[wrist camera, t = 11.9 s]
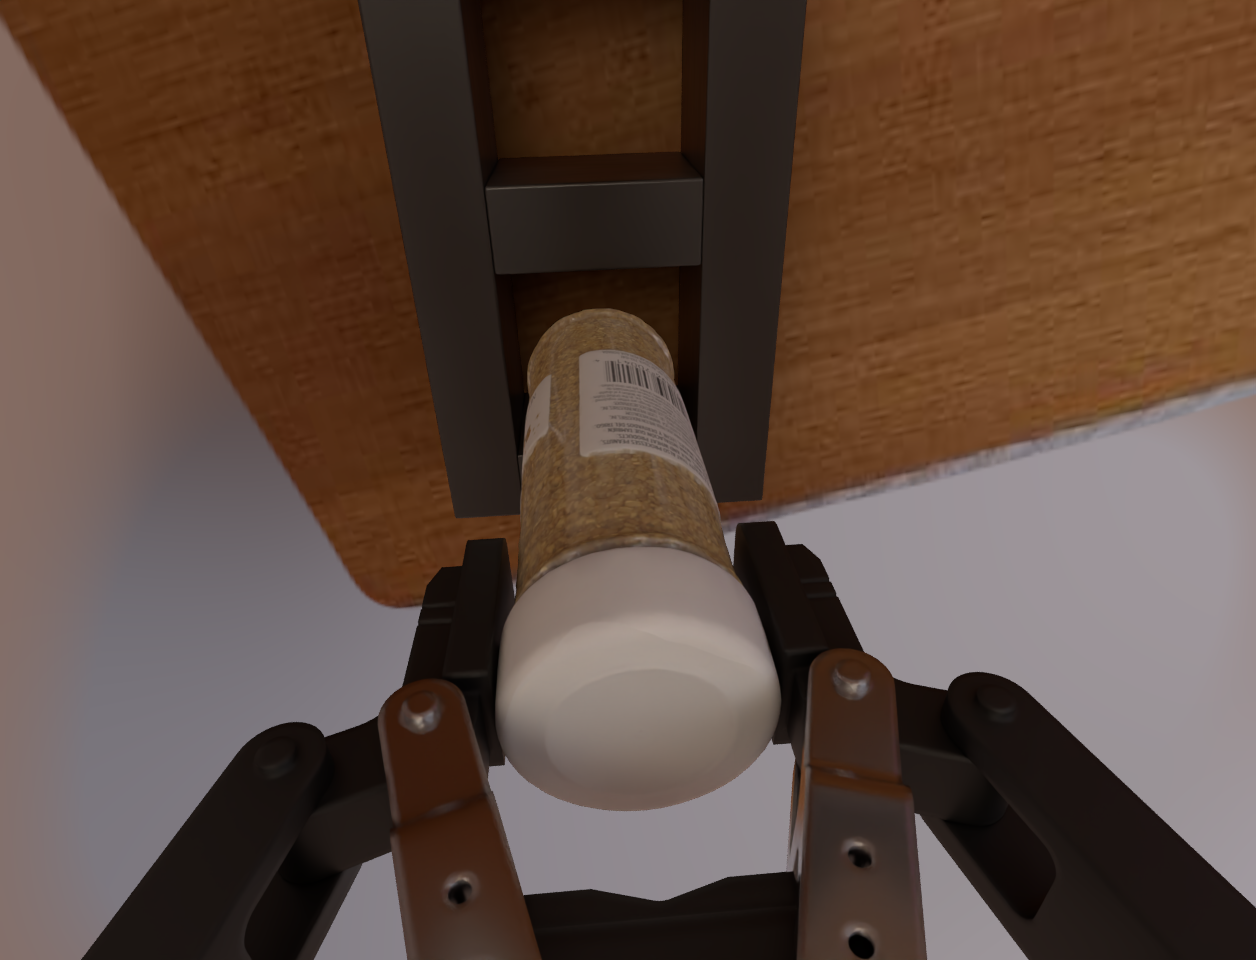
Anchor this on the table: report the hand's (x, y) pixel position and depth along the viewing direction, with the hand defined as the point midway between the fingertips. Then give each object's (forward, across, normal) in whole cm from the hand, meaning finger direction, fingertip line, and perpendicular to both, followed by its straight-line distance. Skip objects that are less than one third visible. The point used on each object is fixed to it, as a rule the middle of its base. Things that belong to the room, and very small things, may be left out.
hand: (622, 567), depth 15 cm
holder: (+15, 0, -4) cm, 16 cm away
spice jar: (+10, 0, 0) cm, 10 cm away
